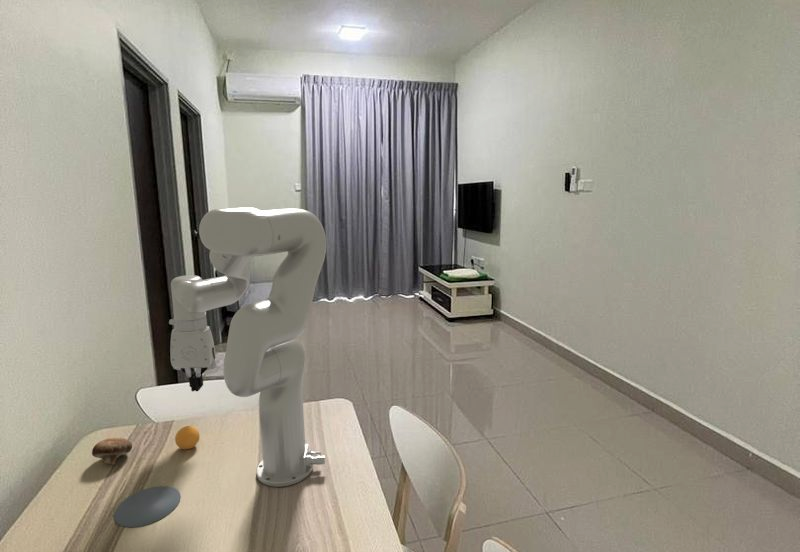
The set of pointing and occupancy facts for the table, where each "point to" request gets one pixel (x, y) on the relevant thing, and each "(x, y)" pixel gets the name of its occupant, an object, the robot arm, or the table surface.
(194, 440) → the ball
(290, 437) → the robot arm
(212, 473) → the table surface
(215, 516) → the table surface
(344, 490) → the table surface
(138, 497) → the disc
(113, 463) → the mushroom
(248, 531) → the table surface
